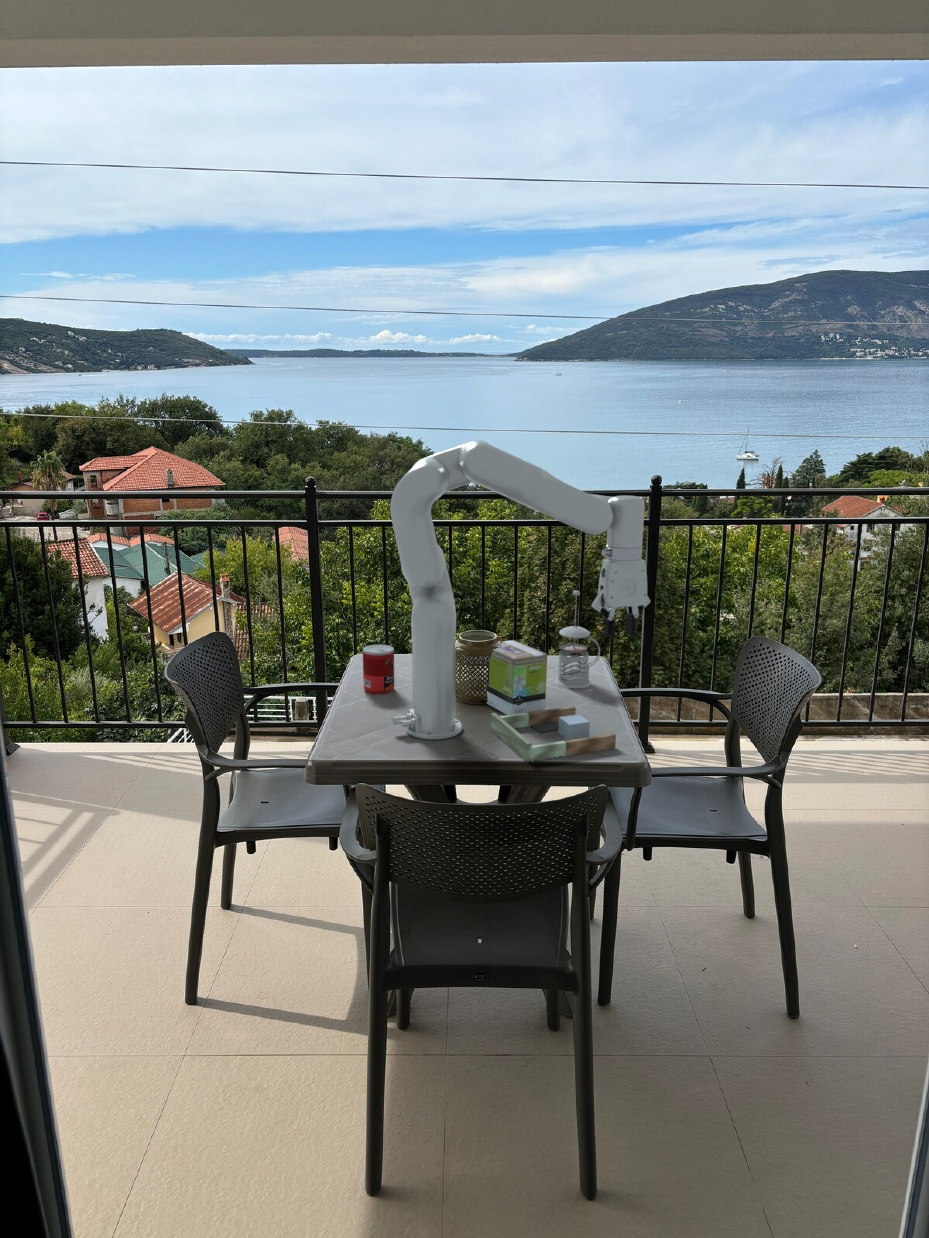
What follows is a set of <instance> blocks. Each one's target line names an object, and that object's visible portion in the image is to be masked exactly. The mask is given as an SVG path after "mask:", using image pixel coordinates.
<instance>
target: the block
mask: <svg viewBox="0 0 929 1238" xmlns="http://www.w3.org/2000/svg"><path fill="white" fill-rule="evenodd" d="M558 725H559V728H558V730H557V731H558V735H559V736H562V737H563V738H564V739H565V741H567V740H574V739H580V738H587V737H590V721H589V720H588V719H586V718H585V717H583V716H582V715H580V714H575V715H570V716H563V717H559V722H558Z"/></svg>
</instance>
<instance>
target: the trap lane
mask: <svg viewBox="0 0 929 1238" xmlns="http://www.w3.org/2000/svg"><path fill="white" fill-rule="evenodd" d="M576 708H577V707H576V706H573V705H572V706H566V707H559V708H550V709H545V710H542V711H535V712H527V713H520V714H513V715H506V714H504V715H498V713H496V712H492V713H490V731H491V730H492V731H493V733H494V734H495V736H496V737H498V736H499V737H500V738H501V739H502V740H501V739H500V738H499V737H498V738H499V739H500V740H501V741H502V742H504V743H505V744H506V743H507V744H508V745H507V744H506V745H507V746H508V747H509V746H510V747H511V748H512V749H511V748H510V747H509V748H510V749H511V750H513V751H514V753H516V754H517V753H518V754H519V755H518V754H517V755H518V756H521V757H520V758H521V759H523V761H525V760H526V761H527V762H526V761H525V762H526V763H529V761H531V762H535V761H534V760H537V761H543V760H549V758H550V759H555V758H554V757H556V758H560V757H559V756H562V757H567V756H575V755H581V754H587V753H588V754H589V753H592V752H599V751H605V750H612V749H616V740H617V739H616V738H617V736H616V735H617V734H615V733H614V732H613V733H608V734H601V735H594V736H589V737H587V738H580V739H574V740H562V741H554V742H548V743H540V744H535V745H532V742H531V741H529V740H528V739H527V738H526V737H525V736H524V735H522V734H521V733H520V732H518V731H517V730H516V729H519V728H526V727H531V725H534V724H542V723H549V722H555V723H556V724H557V723H559V717H563V716H570V715H576ZM492 731H491V732H492Z"/></svg>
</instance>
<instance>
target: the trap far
mask: <svg viewBox="0 0 929 1238" xmlns="http://www.w3.org/2000/svg"><path fill="white" fill-rule="evenodd" d="M530 727H531V728H532V729H534V730H535V731H536V732H537V733H539V734H542V733H543V734H544V733H547V732H549V733H550V732H556V731H558V728H559V723H558V724H557V722H556V723H555V722H549V723H542V724H534V725H531V726H530Z"/></svg>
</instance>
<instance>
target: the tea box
mask: <svg viewBox="0 0 929 1238" xmlns="http://www.w3.org/2000/svg"><path fill="white" fill-rule="evenodd" d="M499 642H500V643H501V642H502V643H501V648H500V646H498V647H499V648H498V649H497V648H496V649H493V652H492V654H491V657H490V660H489V665H488V680H487V697H488V698H487V700H488V701H487V703H486V704H487V705H488V706H490V707H492V708H494V709H495V710H498V711H499V712H501V713H503V714H504V715H513V714H520V713H527V712H535V711H542V710H546V699H547V698H546V696H547V695H546V694H547V675H548V674H547V672H548V671H547V670H548V669H547V668H548V653H545V652H543V651H541V650H539V649H536V648H534V647H531V646H528V645H527V644H524V643H522V642H519V641H516V640H515V639H512V640H510V639H509V640H504V641H499Z"/></svg>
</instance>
